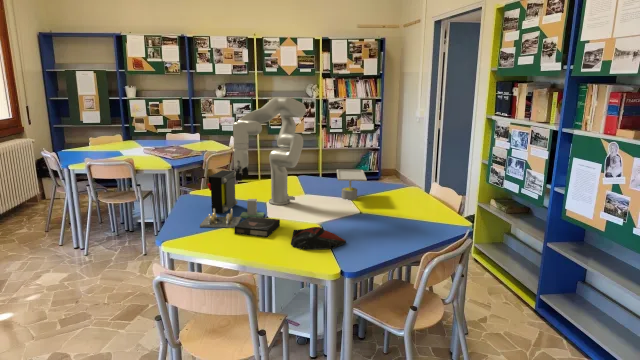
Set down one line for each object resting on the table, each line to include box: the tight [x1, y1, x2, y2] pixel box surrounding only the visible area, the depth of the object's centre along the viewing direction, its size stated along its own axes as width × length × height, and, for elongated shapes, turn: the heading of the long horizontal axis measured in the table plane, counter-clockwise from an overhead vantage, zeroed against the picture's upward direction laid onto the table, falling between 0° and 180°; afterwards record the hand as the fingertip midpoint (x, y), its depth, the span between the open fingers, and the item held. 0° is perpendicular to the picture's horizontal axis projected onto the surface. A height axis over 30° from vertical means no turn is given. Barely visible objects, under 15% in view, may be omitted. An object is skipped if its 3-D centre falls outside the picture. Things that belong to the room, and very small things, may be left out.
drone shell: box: [290, 226, 347, 251], centre depth 193 cm, size 21×20×8 cm
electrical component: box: [207, 169, 238, 214], centre depth 242 cm, size 18×10×20 cm, turn 168°
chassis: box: [199, 208, 242, 229], centre depth 219 cm, size 18×14×6 cm
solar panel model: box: [336, 169, 368, 201], centre depth 269 cm, size 28×17×15 cm, turn 179°
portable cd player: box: [233, 216, 281, 238], centre depth 210 cm, size 16×17×4 cm
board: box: [239, 198, 265, 219], centre depth 231 cm, size 12×7×9 cm, turn 89°
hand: (242, 178), depth 227 cm, fingers open, 9 cm apart
